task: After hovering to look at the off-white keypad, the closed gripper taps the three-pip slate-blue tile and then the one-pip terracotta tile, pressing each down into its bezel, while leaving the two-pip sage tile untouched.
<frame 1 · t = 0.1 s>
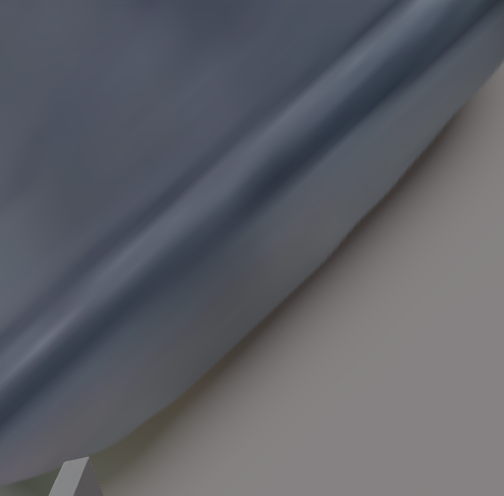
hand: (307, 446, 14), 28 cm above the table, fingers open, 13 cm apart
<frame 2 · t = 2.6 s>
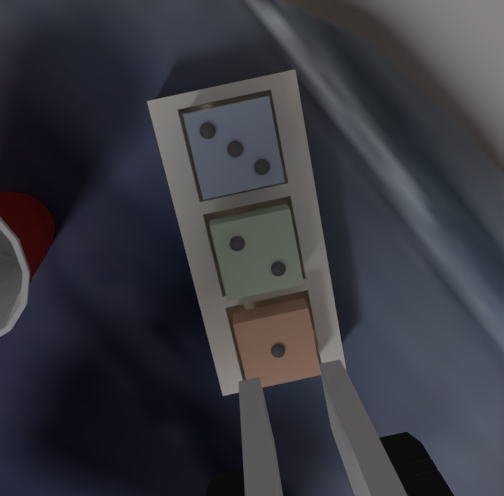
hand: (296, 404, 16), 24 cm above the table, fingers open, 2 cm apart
tile one: (276, 344, 37), point 5 cm above the table, slide at 0.0 cm
tile two: (256, 252, 35), point 5 cm above the table, slide at 0.0 cm
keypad: (253, 237, 40), on the table
tile three: (234, 148, 33), point 5 cm above the table, slide at 0.0 cm
plastic cup: (20, 228, 39), on the table
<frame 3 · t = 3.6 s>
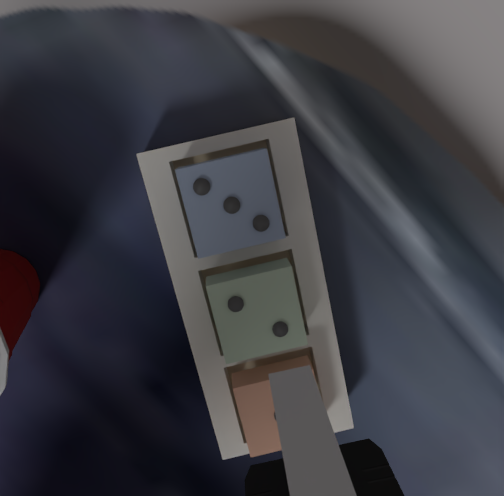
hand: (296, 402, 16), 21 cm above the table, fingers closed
tile one: (279, 406, 35), point 5 cm above the table, slide at 0.0 cm
tile two: (256, 310, 33), point 5 cm above the table, slide at 0.0 cm
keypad: (251, 289, 37), on the table
tile three: (231, 202, 31), point 5 cm above the table, slide at 0.0 cm
plastic cup: (3, 285, 36), on the table
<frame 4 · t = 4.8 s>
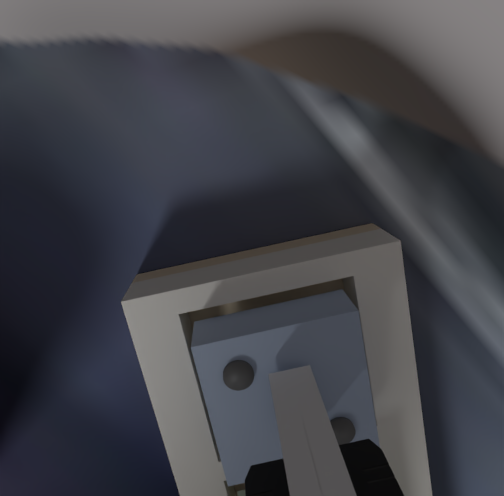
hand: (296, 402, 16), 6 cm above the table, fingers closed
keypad: (302, 472, 24), on the table
tile three: (286, 387, 18), point 4 cm above the table, slide at 0.4 cm, touching gripper
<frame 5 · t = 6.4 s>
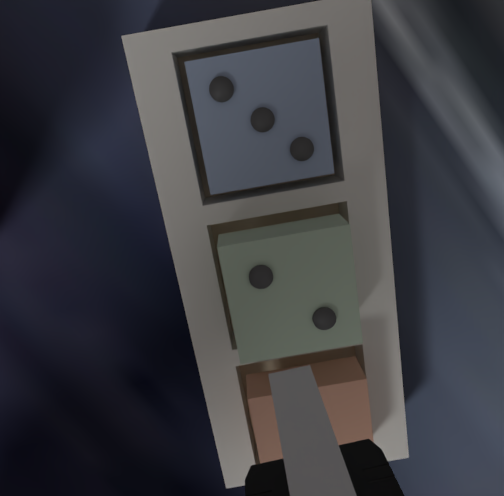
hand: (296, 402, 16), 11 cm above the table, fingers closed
tile one: (311, 425, 24), point 5 cm above the table, slide at 0.0 cm
tile two: (290, 289, 22), point 5 cm above the table, slide at 0.0 cm
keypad: (280, 258, 27), on the table
tile three: (261, 119, 22), point 3 cm above the table, slide at 2.2 cm
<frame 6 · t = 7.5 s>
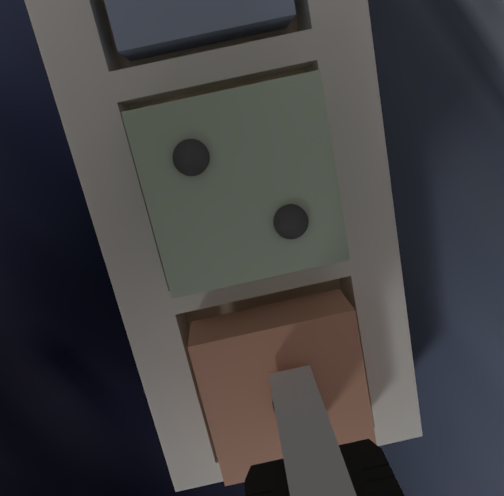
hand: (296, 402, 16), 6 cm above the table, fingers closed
tile one: (283, 387, 18), point 4 cm above the table, slide at 0.4 cm, touching gripper
tile two: (240, 186, 15), point 5 cm above the table, slide at 0.0 cm
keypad: (235, 172, 20), on the table
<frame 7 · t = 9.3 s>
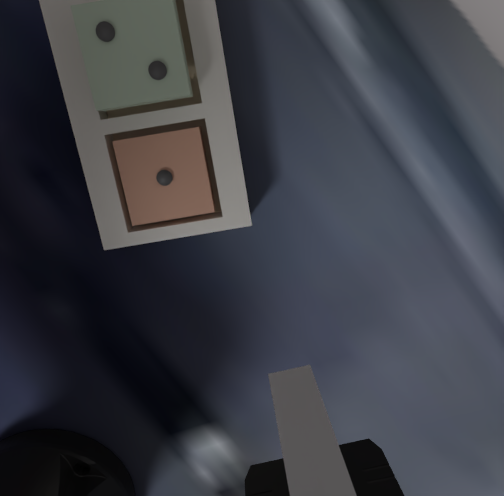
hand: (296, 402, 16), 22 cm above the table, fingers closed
tile one: (166, 175, 33), point 3 cm above the table, slide at 2.2 cm
tile two: (135, 53, 29), point 5 cm above the table, slide at 0.0 cm
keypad: (148, 63, 33), on the table
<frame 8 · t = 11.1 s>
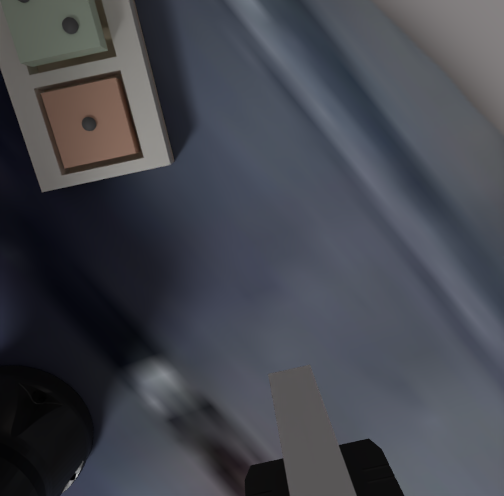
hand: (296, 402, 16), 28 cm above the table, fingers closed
tile one: (92, 124, 38), point 3 cm above the table, slide at 2.2 cm
tile two: (52, 13, 34), point 5 cm above the table, slide at 0.0 cm
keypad: (73, 26, 38), on the table
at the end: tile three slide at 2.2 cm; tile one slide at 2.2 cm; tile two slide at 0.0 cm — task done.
